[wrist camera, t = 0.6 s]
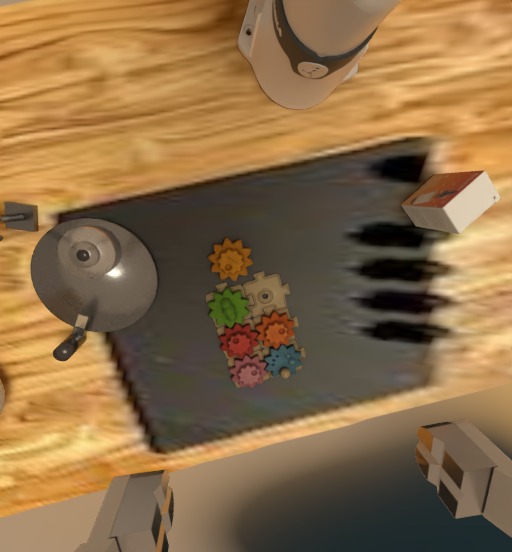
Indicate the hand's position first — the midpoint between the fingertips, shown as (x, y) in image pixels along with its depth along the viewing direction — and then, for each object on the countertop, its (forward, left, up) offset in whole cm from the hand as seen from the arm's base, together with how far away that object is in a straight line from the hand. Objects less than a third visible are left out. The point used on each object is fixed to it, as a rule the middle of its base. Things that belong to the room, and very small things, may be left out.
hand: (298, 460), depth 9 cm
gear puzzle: (+13, +5, -44) cm, 46 cm away
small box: (-13, +33, -43) cm, 56 cm away
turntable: (+11, -23, -42) cm, 49 cm away
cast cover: (+4, -23, -41) cm, 47 cm away
